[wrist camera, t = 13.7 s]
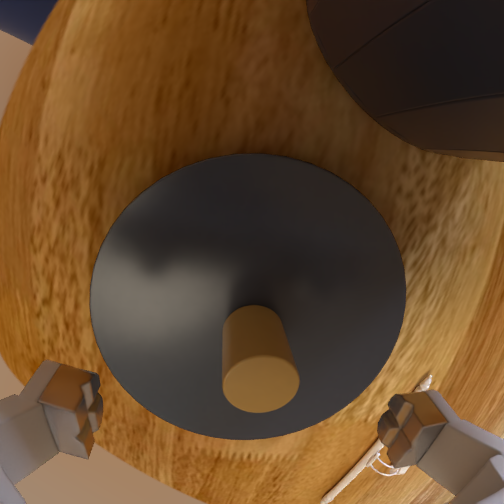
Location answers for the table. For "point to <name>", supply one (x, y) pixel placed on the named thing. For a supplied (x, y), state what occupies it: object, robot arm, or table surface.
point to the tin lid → (247, 296)
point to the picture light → (371, 459)
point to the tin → (421, 68)
